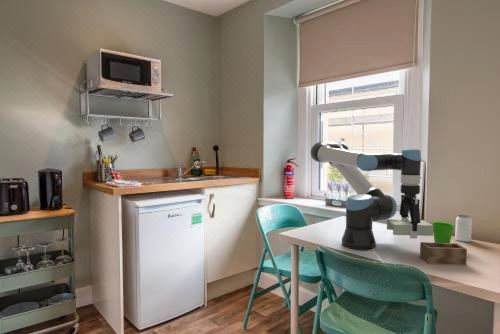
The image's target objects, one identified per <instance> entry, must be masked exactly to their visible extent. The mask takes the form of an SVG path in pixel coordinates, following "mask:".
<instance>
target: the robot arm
mask: <svg viewBox="0 0 500 334" xmlns="http://www.w3.org/2000/svg"><path fill="white" fill-rule="evenodd" d="M310 156H311V158H312V160H314V161H315V162H317V163H323V164H325V163H329V165H330V166H331V167H332V168H333V169H337V170H338V172H339V173H340V174H341V176H342V177H343V178H344V179H345V180H346V182H347V183H348V184H349V185H350V187H351V188H352V190H354V192H355V193H356V194H353V195H350V196H348V197H347V199H346V204H345V229H344V232H343V235H342V238H341V245H342V246H343V247H345V248H347V249H352V250H355V251H371V250H373V249H374V248H376V245H377V241H376V238H375V235H374V231H373V222H377V221H378V222H379V221H386V220H390V219H392V218H393V217H394V216H395V215H396V213H397V206H398V205H397V202H396V199H395V198H394V197H393V196H391V195H389V194H385V193H384V192H383V191H382V190H381V188H377V187H374V186H373V184H372V183H371V182H370V181H369V180H368V178H367V177H366V176H365V175H364V174H363V173H362V172H361V171H363V172H372V171H389V170H393V171H394V170H395V171H400V184H401V185H400V193H401V195H400V197H401V198H400V199H401V200H400V207H399V215H400V217H401V220H409V218H410V220H411V222H410V235H409V239H418V236H417V229H418V223H420V220H421V211H420V201H421V200H420V199H418V198H417V195H420V193H421V186H420V184H421V179H422V177H421V166H422V163H421V162H422V157H421V156H422V153H421V150H420V149H418V148H416V149H415V148H413V149H412V148H410V149H409V148H407V149H406V148H405V149H402V150H401V153H389V152H383V153H369V152H362V151H357V150H350V149H349V147H348V145H347V144H346V143H344V142H342V141H341V142H340V141H318V142H316V143H314V144H313V145H312V146H311V148H310Z"/></svg>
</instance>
